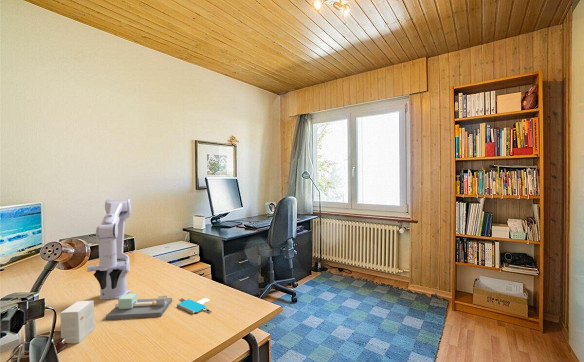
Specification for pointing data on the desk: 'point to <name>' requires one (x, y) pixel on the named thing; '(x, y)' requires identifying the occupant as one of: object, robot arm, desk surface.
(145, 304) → the wooden dowel
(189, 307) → the blue flat gadget
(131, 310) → the board
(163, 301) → the block
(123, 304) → the sleeve
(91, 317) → the small box
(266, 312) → the desk surface
